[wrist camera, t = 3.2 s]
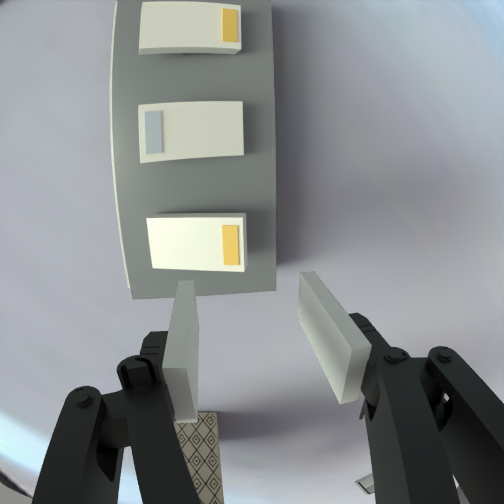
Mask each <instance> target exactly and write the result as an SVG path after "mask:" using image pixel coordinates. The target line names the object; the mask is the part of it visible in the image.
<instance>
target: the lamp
mask: <svg viewBox="0 0 504 504" xmlns="http://www.w3.org/2000/svg"><path fill="white" fill-rule="evenodd" d="M174 426H175V430H176V433H177V436H178V439H179V442H180V445H181V448H182V451H183V454H184V457H185V460H186V463H187V466H188V469H189V471H190V474H191V477H192V480H193V482H194V485H195V488H196V490H197V493H198V495H199V498H200V500H201V503H202V504H224V497H223V487H222V476H221V464H220V451H219V438H218V424H217V413H215V412H198V422H196V423H177V422H176V419H175V416H174Z"/></svg>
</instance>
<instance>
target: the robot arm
mask: <svg viewBox="0 0 504 504" xmlns="http://www.w3.org/2000/svg"><path fill="white" fill-rule="evenodd" d="M298 320H299V322H300V324H301V326H302V328H303V330H304V332H305V334H306V336H307V338H308V340H309V342H310V344H311V346H312V348H313V350H314V352H315V354H316V356H317V358H318V360H319V362H320V364H321V366H322V368H323V370H324V372H325V375H326V377H327V379H328V381H329V383H330V385H331V387H332V389H333V391H334V393H335V395H336V397H337V399H338V401H339V403H340V405H341V404H345V403H350V402H354V401H358V399H359V395H360V392H361V391H362V393H363V394H364V396H365V400H364V403H363V407H362V410H361V413H360V418H359V419H362V418H363V415H364V414H365V421H366V427H367V434H368V441H369V448H370V455H371V463H372V471H373V480H374V490H375V500H376V504H460V501H459V497H458V493H457V489H456V485H455V482H454V478H453V475H454V477H455V479H456V480H457V482H458V484H459V486H460V487H461V489H462V491H463V492H464V494H465V496H466V498H467V499H468V501H469V503H470V504H504V404H503V402H502V401H501V400H500V399H499V398H498V397H497V396H496V395H495V393H494V392H493V391H492V390H491V389H490V388H489V387H488V386H487V385H486V383H485V382H484V381H483V380H482V379H481V378H480V377H479V376H478V375H477V374H476V373H475V371H474V370H473V369H472V368H471V367H470V366H469V365H468V364H467V363H466V362H465V361H464V360H463V359H462V358H461V357H460V356H459V355H458V354H457V353H456V352H455V351H454V350H453V349H450V348H448V347H444V346H438V347H434V348H432V349H431V350H430V351H429V354H428V357H426V358H411V357H410V355H409V354H408V353H407V352H406V351H404V350H403V349H400V348H397V347H390V345H389V344H388V343H387V342H386V341H385V339H384V338H383V337H382V336H381V335H380V333H379V332H378V331H376V329H375V327H374V326H372V324H371V323H370V321H369V320H368V319H367V318H366V317H364V316H362V315H361V314H359V313H352V314H348V313H347V312H346V311H345V310H344V308H343V307H342V306H341V304H340V303H339V302H338V301H337V299H336V298H335V297H334V295H333V294H332V293H331V292H330V290H329V289H328V288H327V286H326V285H325V284H324V283H323V281H322V280H321V279H320V278H319V276H318V275H317V274H316V273H315V271H312V272H300V291H299V311H298ZM198 348H199V321H198V313H197V305H196V296H195V287H194V280H185V281H178V286H177V290H176V295H175V300H174V305H173V310H172V315H171V320H170V326H169V331H157V332H150V333H149V334H148V335H147V336H146V337H145V338H144V340H143V343H142V348H141V351H140V355H134V356H131V357H127V358H126V359H124V360H123V361H121V362H120V364H119V365H118V366H117V374H118V377H119V380H120V382H121V385H122V388H123V389H122V390H120V391H117V392H114V393H109V394H104V395H101V393H100V391H99V390H98V389H96V388H95V387H91V386H82V387H79V388H76V389H74V390H73V391H71V392H70V393H69V395H68V396H67V398H66V400H65V403H64V405H63V408H62V410H61V413H60V415H59V418H58V421H57V424H56V426H55V429H54V432H53V435H52V438H51V440H50V443H49V446H48V449H47V452H46V455H45V458H44V462H43V465H42V468H41V471H40V475H39V478H38V482H37V485H36V489H35V492H34V496H33V500H32V504H117V502H118V492H119V484H120V475H121V468H122V460H123V453H124V447H128V446H131V449H132V455H133V460H134V466H135V471H136V475H137V480H138V485H139V489H140V493H141V498H142V502H143V504H202V503H201V500H200V498H199V495H198V493H197V490H196V488H195V485H194V482H193V480H192V477H191V474H190V471H189V469H188V466H187V463H186V460H185V457H184V454H183V451H182V448H181V445H180V442H179V439H178V436H177V433H176V430H175V426H174V416H175V419H176V422H177V423H196V422H198ZM445 393H446V394H447V395H448V397H449V400H448V401H446V400H445V398H444V395H445ZM452 474H453V475H452Z"/></svg>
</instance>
